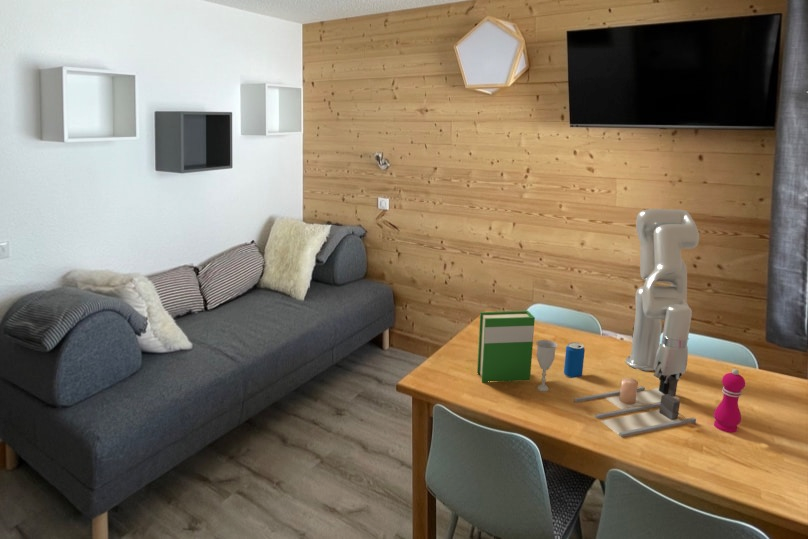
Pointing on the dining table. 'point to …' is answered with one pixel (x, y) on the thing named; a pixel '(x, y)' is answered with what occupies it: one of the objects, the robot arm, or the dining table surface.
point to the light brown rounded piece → (628, 390)
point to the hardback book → (505, 345)
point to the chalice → (545, 359)
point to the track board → (633, 409)
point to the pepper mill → (729, 403)
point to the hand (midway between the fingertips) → (667, 391)
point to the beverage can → (574, 360)
